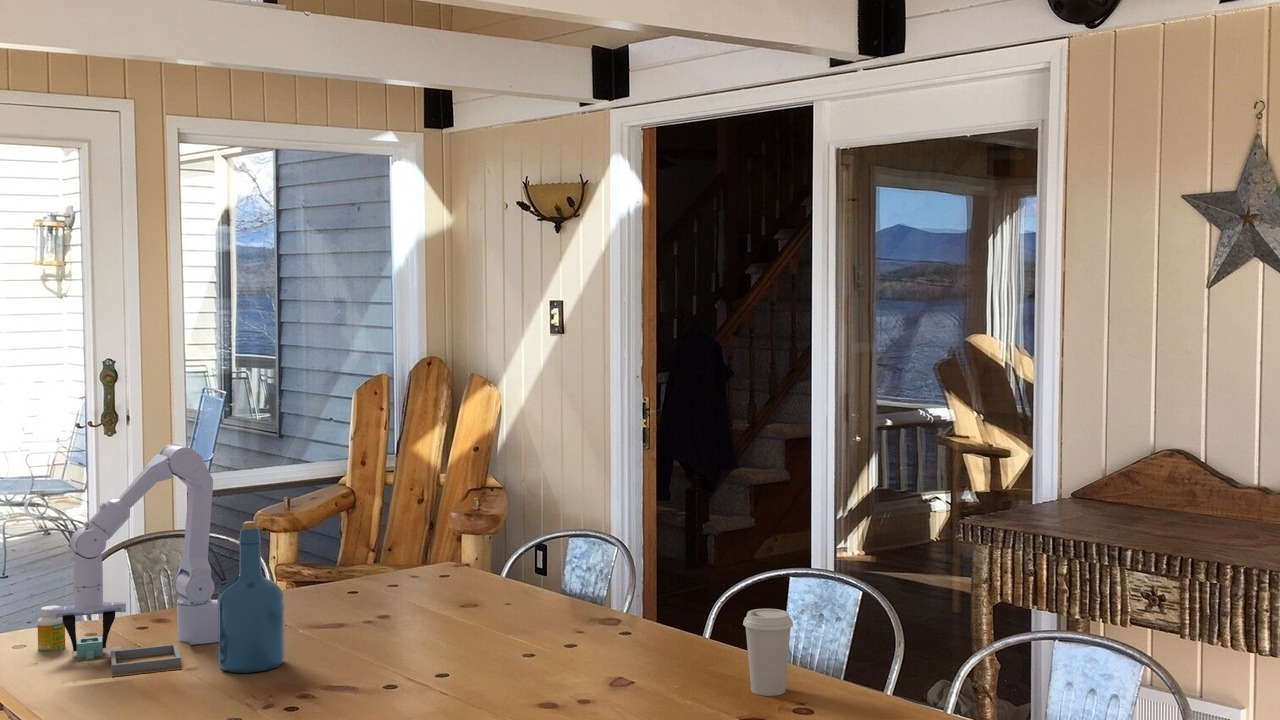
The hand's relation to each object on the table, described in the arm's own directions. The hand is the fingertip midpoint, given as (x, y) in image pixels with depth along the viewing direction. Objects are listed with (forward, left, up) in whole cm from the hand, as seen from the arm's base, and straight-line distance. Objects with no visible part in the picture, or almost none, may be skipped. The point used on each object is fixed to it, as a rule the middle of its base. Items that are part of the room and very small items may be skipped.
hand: (89, 648), depth 264 cm
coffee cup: (-119, +82, -2) cm, 144 cm away
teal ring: (0, 0, -1) cm, 1 cm away
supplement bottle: (+7, -9, -2) cm, 12 cm away
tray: (-11, +12, -2) cm, 16 cm away
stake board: (-2, 0, -2) cm, 2 cm away
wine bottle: (-31, +21, -2) cm, 37 cm away
